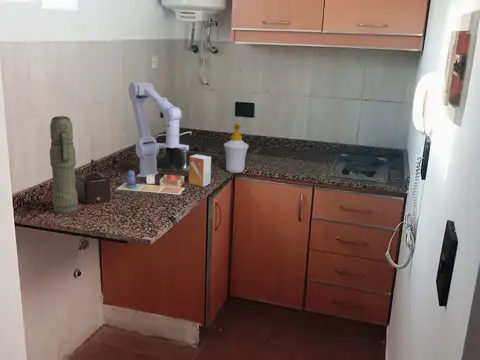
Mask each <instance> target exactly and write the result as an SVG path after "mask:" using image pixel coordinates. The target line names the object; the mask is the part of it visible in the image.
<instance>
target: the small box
mask: <svg viewBox="0 0 480 360" xmlns="http://www.w3.org/2000/svg"><path fill="white" fill-rule="evenodd" d="M188 161H189V163H188V166H189V167H188V184H190V185H194V186H199V187H203V188H204V187H205V186H208V184H209V185H210V184H211V175H212V174H211V171H212V168H211V167H212V156H210V155H209V156H207V155H203V154H197V153H196V154H192V155H190V156H189V160H188Z"/></svg>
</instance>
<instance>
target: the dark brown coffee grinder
mask: <svg viewBox="0 0 480 360" xmlns="http://www.w3.org/2000/svg"><path fill="white" fill-rule="evenodd" d="M110 159H111V162H112V164H111V165H109V164H101V163H99V164H98V163H95V160H94V159H90V166H91V172H87V173H86V174H80V175H76V176H75V179H76V191H77V195H78V200H79V201H80V202H82V203H83V204H84V205H86V206H87V205H93V204H100V203H105V202H108V201H109V202H110V201H111V180H110V177H108V176H106V175H105V174H103V173H101V172H97V171H95V167H100V168H101V167H103V168H111V169H117V168H119V164H120V163H121V162H122V158H121V157H120V156H118V155H113V156H112V157H111V158H110Z"/></svg>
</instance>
